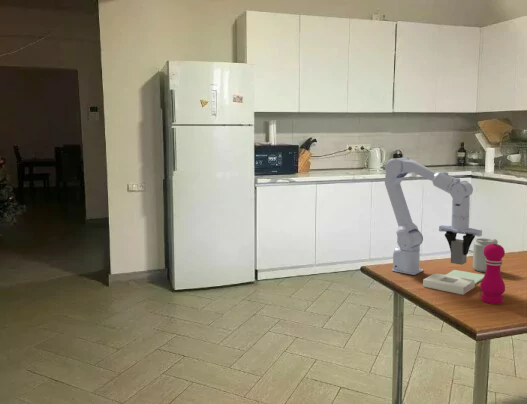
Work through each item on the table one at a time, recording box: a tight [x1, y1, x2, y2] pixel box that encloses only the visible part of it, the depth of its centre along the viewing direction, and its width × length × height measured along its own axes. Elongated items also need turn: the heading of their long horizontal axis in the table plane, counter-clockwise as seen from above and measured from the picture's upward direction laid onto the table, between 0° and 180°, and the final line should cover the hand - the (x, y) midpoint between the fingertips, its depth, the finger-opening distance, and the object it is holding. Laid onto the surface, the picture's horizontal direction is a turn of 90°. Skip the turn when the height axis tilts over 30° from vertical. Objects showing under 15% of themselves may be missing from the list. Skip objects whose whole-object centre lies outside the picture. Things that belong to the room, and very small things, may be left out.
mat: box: [445, 269, 485, 285], centre depth 181 cm, size 12×12×1 cm
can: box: [472, 237, 493, 273], centre depth 189 cm, size 8×8×12 cm
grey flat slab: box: [422, 272, 476, 296], centre depth 171 cm, size 14×10×2 cm
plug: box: [450, 238, 468, 266], centre depth 175 cm, size 4×4×8 cm
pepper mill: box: [479, 238, 506, 305], centre depth 155 cm, size 7×7×20 cm
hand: (459, 253), depth 175 cm, fingers closed on plug, 4 cm apart
